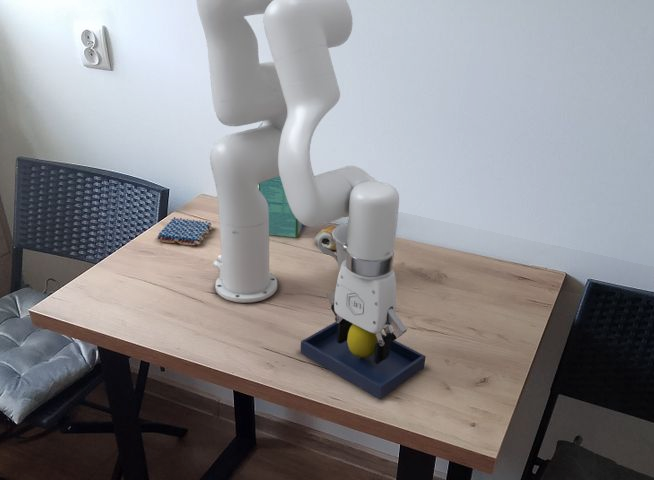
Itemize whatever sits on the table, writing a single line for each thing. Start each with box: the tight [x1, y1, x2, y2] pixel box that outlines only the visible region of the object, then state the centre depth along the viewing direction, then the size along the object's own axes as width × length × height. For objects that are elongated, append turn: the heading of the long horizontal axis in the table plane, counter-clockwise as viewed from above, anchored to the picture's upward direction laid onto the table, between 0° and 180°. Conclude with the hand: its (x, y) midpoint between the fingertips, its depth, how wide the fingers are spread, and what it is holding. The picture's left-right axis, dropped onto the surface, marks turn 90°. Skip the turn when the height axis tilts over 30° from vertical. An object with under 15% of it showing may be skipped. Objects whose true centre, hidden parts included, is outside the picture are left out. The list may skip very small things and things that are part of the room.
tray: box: [300, 321, 427, 400], centre depth 123 cm, size 18×12×3 cm
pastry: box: [314, 226, 337, 251], centre depth 160 cm, size 9×7×4 cm
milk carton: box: [258, 121, 304, 239], centre depth 160 cm, size 9×9×25 cm
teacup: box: [316, 222, 348, 269], centre depth 145 cm, size 12×15×10 cm
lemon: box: [347, 324, 378, 358], centre depth 121 cm, size 6×6×8 cm
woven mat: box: [156, 216, 213, 246], centre depth 162 cm, size 10×11×2 cm
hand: (362, 349), depth 122 cm, fingers open, 7 cm apart
